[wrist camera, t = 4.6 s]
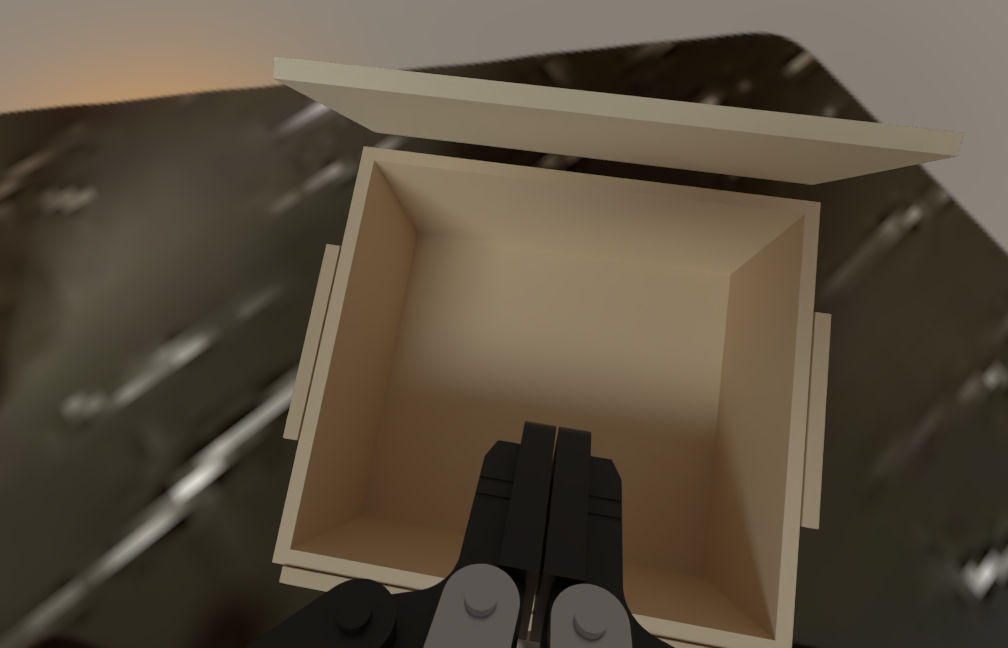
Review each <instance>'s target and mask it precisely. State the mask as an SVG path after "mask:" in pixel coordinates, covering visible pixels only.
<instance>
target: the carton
mask: <svg viewBox="0 0 1008 648" xmlns="http://www.w3.org/2000/svg"><path fill="white" fill-rule="evenodd" d="M820 204H821V202H812V201H804V200H796V199H788V198H780V197H772V196H764V195H755V194H747V193H739V192H731V191H723V190H715V189H707V188H698V187H690V186H682V185H674V184H666V183H658V182H649V181H641V180H633V179H625V178H617V177H609V176H601V175H592V174H584V173H576V172H568V171H560V170H552V169H544V168H535V167H527V166H519V165H511V164H503V163H495V162H486V161H478V160H470V159H462V158H454V157H446V156H438V155H429V154H421V153H413V152H405V151H397V150H389V149H381V148H372V147H364V148H363V152H362V157H361V162H360V166H359V171H358V175H357V180H356V184H355V189H354V193H353V198H352V202H351V207H350V211H349V216H348V221H347V225H346V230H345V234H344V239H343V243H342V248H341V247H340V246H336V245H329V244H327V245H326V249H325V254H324V258H323V262H322V267H321V271H320V276H319V280H318V285H317V289H316V293H315V298H314V302H313V307H312V311H311V316H310V320H309V325H308V329H307V333H306V338H305V342H304V347H303V351H302V356H301V360H300V364H299V369H298V373H297V378H296V382H295V387H294V391H293V395H292V400H291V404H290V409H289V413H288V418H287V422H286V426H285V431H284V435H283V438H287V439H293V440H299V443H298V447H297V452H296V456H295V461H294V466H293V470H292V475H291V479H290V484H289V488H288V493H287V497H286V502H285V506H284V511H283V515H282V520H281V524H280V529H279V534H278V538H277V543H276V547H275V552H274V556H273V561H272V562H274V563H279V564H284V566H283V568H282V572H281V577H280V583H285V584H290V585H295V586H300V587H306V588H311V589H316V590H321V591H326V592H327V591H329V590H330V589H332V588H333V587H335V586H337V585H338V584H340V583H342V582H345V581H347V580H352V579H359V578H363V579H370V580H374V581H376V582H379V583H380V584H382V585H383V586H385V587H386V588H387V589H388V590H389V592H390V593H391V594H396V593H403V592H410V591H417V590H422V589H426V588H429V587H432V586H434V585H436V584H438V583H439V582H441V581H442V580H443V579H445V578H446V577H447V576H448V575H449V574H450V573H451V572H452V570H453V569H454V567H455V566H456V564H457V562H458V559H459V556H460V552H461V548H462V544H463V540H464V536H465V532H466V528H467V524H468V520H469V516H470V512H471V508H472V504H473V500H474V496H475V493H476V488H477V484H478V480H479V477H480V472H481V468H482V464H483V460H484V456H485V455H486V454H487V453H488V451H489V450H490V449H491V448H492V447H493V446H494V444H495V443H496V442H497V441H498V440H501V441H507V442H513V443H518V444H521V439H522V434H523V428H524V423H525V421H530V422H536V423H542V424H548V425H554V426H556V435H555V444H554V451H555V445H556V440H557V434H558V429H559V426H560V427H566V428H572V429H578V430H584V431H590V432H591V456H594V457H600V458H606V459H612V461H613V463H614V465H615V467H616V469H617V471H618V473H619V475H620V477H621V479H622V504H621V505H622V543H623V591H624V597H625V601H626V603H627V606H628V608H629V610H630V612H631V613H632V615H633V616H634V618H635V619H636V620H637V622H638V623H639V624H640V625H641V626H642V627H643V628H644V629H645V630H647V631H648V632H649V633H650V634H652V635H654V636H655V637H657V638H658V639H660V640H662V641H664V642H666V643H667V644H669V645H671V646H673V647H675V648H792V637H793V621H794V606H795V590H796V575H797V560H798V544H799V529H800V526H803V527H809V528H814V529H819V513H820V496H821V480H822V463H823V446H824V429H825V412H826V395H827V378H828V361H829V344H830V327H831V314H825V313H818V312H815V313H813V312H814V296H815V281H816V265H817V250H818V235H819V219H820ZM553 456H554V452H553ZM534 599H535V597H534ZM533 608H534V602H533V607H532V612H531V618H530V623H529V628H528V631H531V624H532V616H533Z"/></svg>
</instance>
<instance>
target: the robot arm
mask: <svg viewBox="0 0 1008 648" xmlns="http://www.w3.org/2000/svg"><path fill="white" fill-rule="evenodd" d="M555 435H556V426H554V425H548V424H542V423H536V422H530V421H525V423H524V428H523V434H522V439H521V444H518V443H513V442H507V441H501V440H498V441H497V442H496V443H495V444H494V446H493V447H492V448H491V449H490V450H489V451H488V453H487V454H486V455H485V456H484V460H483V464H482V468H481V472H480V477H479V480H478V484H477V488H476V493H475V496H474V500H473V504H472V508H471V512H470V516H469V520H468V524H467V528H466V532H465V536H464V540H463V544H462V548H461V552H460V556H459V559H458V562H457V564H456V566H455V567H454V569H453V570H452V572H451V573H450V574H449V575H448V576H447V577H446V578H445V579H443V580H442V581H441V582H439V583H438V584H436V585H434V586H432V587H429V588H426V589H422V590H417V591H410V592H403V593H396V594H391V593H390V592H389V590H388V589H387V588H386V587H385V586H383V585H382V584H380V583H379V582H376V581H374V580H370V579H363V578H359V579H352V580H347V581H345V582H342V583H340V584H338V585H337V586H335V587H333V588H332V589H330V590H329V591H327V592H326V593H324V594H323V595H322V596H320V597H319V598H317V599H316V600H314V601H313V602H311V603H310V604H308V605H307V606H305V607H304V608H302V609H301V610H299V611H298V612H296V613H295V614H294V615H292V616H291V617H289V618H288V619H286V620H285V621H283V622H282V623H280V624H279V625H277V626H276V627H274V628H273V629H271V630H270V631H268V632H267V633H266V634H264V635H263V636H261V637H260V638H258V639H257V640H255V641H254V642H252V643H251V644H249V645H248V646H246V647H245V648H516V647H517V641H518V638H519V639H524V640H526V638H527V633H528V628H529V623H530V618H531V612H532V607H533V602H534V608H533V616H532V624H531V632H530V641H535V642H540V648H675V647H673V646H671V645H669V644H667V643H666V642H664V641H662V640H660V639H658V638H657V637H655V636H654V635H652V634H650V633H649V632H648V631H647V630H645V629H644V628H643V627H642V626H641V625H640V624H639V623H638V622H637V620H636V619H635V618H634V616H633V615H632V613H631V612H630V610H629V608H628V606H627V603H626V601H625V597H624V591H623V543H622V505H621V504H622V479H621V477H620V475H619V473H618V471H617V469H616V467H615V465H614V463H613V461H612V459H606V458H600V457H594V456H591V432H590V431H584V430H578V429H572V428H566V427H560V426H559V429H558V434H557V440H556V445H555V451H554V444H555ZM553 452H554V456H553ZM534 597H535V599H534Z"/></svg>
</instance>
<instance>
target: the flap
mask: <svg viewBox="0 0 1008 648" xmlns="http://www.w3.org/2000/svg"><path fill="white" fill-rule="evenodd" d="M273 78H274V79H276V80H277V81H279V82H281V83H283V84H285V85H287V86H289V87H291V88H293V89H294V90H296V91H298V92H300V93H302V94H304V95H306V96H308V97H310V98H311V99H313V100H315V101H317V102H319V103H321V104H323V105H325V106H327V107H328V108H330V109H332V110H334V111H336V112H338V113H340V114H342V115H344V116H345V117H347V118H349V119H351V120H353V121H355V122H357V123H359V124H361V125H362V126H364V127H366V128H368V129H370V130H372V131H374V132H377V133H385V134H394V135H402V136H410V137H419V138H427V139H435V140H444V141H452V142H460V143H469V144H477V145H485V146H493V147H502V148H510V149H518V150H527V151H535V152H543V153H552V154H560V155H568V156H577V157H585V158H593V159H602V160H610V161H618V162H627V163H635V164H643V165H651V166H660V167H668V168H676V169H685V170H693V171H701V172H710V173H718V174H726V175H735V176H743V177H751V178H760V179H768V180H776V181H785V182H793V183H801V184H809V185H815V184H820V183H825V182H830V181H835V180H840V179H845V178H850V177H855V176H860V175H865V174H870V173H875V172H880V171H885V170H891V169H896V168H901V167H906V166H911V165H916V164H921V163H926V162H931V161H936V160H941V159H946V158H951V157H956V156H958V155H959V151H960V147H961V144H962V139H963V135H964V133H963V132H955V131H945V130H937V129H927V128H918V127H909V126H900V125H891V124H882V123H873V122H864V121H855V120H846V119H837V118H828V117H818V116H809V115H800V114H791V113H782V112H773V111H764V110H755V109H746V108H737V107H728V106H719V105H709V104H700V103H691V102H682V101H673V100H664V99H655V98H646V97H637V96H628V95H619V94H610V93H600V92H591V91H582V90H573V89H564V88H555V87H546V86H537V85H528V84H519V83H510V82H501V81H492V80H482V79H473V78H464V77H455V76H446V75H437V74H428V73H419V72H410V71H401V70H392V69H383V68H373V67H364V66H355V65H345V64H337V63H328V62H319V61H310V60H300V59H292V58H282V57H274V74H273Z"/></svg>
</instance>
